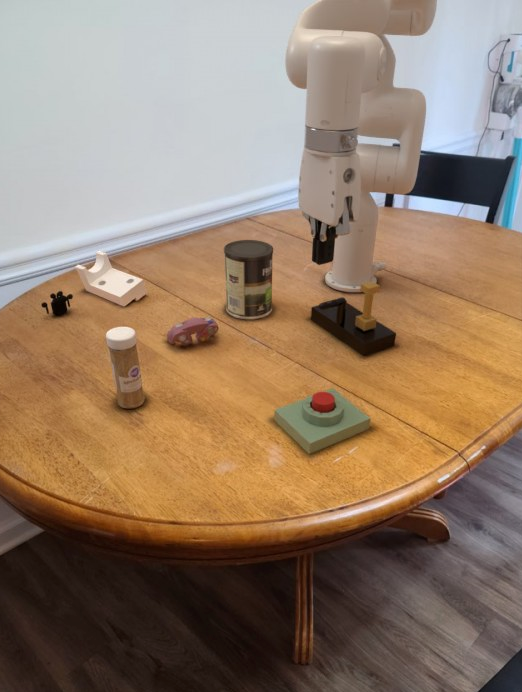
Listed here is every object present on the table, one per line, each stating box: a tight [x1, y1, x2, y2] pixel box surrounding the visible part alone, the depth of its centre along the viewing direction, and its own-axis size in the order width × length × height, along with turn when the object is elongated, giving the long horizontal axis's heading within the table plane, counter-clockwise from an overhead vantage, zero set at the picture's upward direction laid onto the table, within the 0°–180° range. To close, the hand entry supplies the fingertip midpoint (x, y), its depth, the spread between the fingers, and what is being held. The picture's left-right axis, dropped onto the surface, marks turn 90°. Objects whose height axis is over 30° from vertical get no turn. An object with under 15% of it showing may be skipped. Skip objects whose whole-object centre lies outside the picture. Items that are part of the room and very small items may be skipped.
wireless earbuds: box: [41, 290, 74, 316], centre depth 120 cm, size 7×2×5 cm, turn 136°
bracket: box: [75, 250, 149, 307], centre depth 128 cm, size 13×7×8 cm, turn 54°
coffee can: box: [223, 239, 274, 320], centre depth 121 cm, size 10×10×14 cm
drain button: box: [312, 391, 335, 413], centre depth 90 cm, size 4×4×2 cm
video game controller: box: [166, 316, 219, 346], centre depth 111 cm, size 10×5×7 cm, turn 118°
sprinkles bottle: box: [105, 326, 146, 410], centre depth 92 cm, size 5×5×13 cm
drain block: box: [273, 388, 372, 455], centre depth 91 cm, size 12×10×4 cm
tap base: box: [310, 296, 397, 357], centre depth 115 cm, size 13×18×9 cm
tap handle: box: [355, 281, 381, 331], centre depth 111 cm, size 3×3×9 cm
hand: (322, 261), depth 91 cm, fingers closed
